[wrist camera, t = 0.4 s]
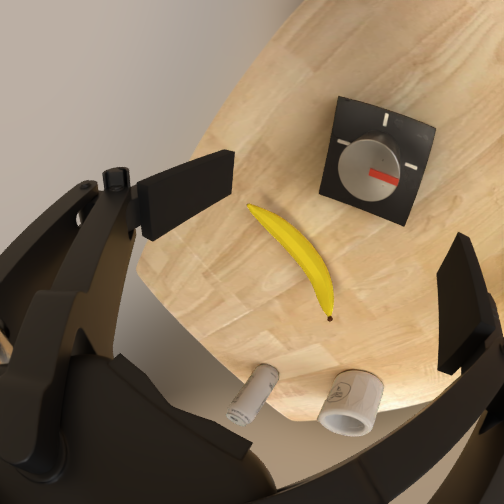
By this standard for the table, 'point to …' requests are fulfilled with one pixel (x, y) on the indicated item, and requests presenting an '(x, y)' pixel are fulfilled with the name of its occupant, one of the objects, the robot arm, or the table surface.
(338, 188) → the stove panel
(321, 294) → the banana
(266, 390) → the energy drink can
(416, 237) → the table surface
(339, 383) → the mug
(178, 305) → the table surface
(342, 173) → the stove knob
